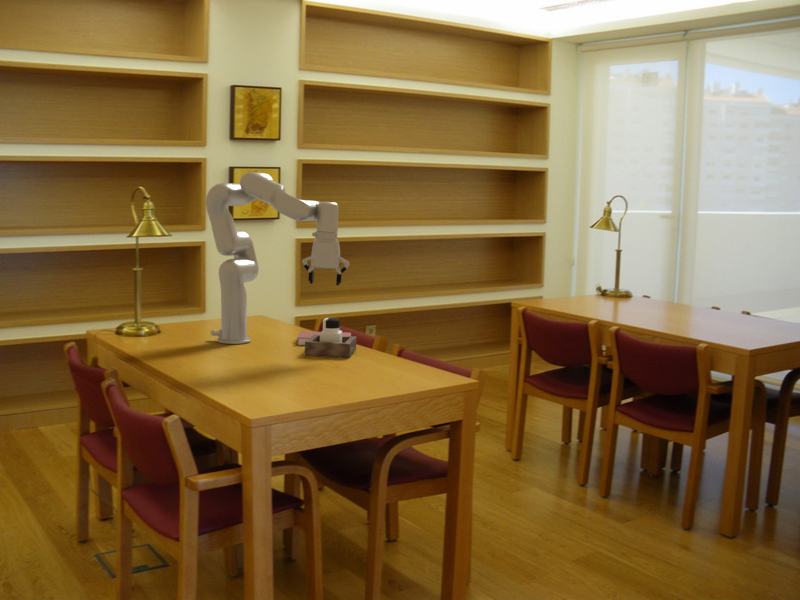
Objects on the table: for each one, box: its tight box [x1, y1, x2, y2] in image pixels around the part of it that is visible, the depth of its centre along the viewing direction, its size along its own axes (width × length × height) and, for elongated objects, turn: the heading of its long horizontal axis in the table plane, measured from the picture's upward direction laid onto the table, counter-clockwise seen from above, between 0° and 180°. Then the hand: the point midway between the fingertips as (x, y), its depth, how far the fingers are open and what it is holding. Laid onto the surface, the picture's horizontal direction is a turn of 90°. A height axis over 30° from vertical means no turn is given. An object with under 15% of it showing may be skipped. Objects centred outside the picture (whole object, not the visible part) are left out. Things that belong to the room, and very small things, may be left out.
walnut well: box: [304, 335, 357, 359], centre depth 302 cm, size 16×16×5 cm
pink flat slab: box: [296, 331, 352, 347], centre depth 322 cm, size 20×14×3 cm
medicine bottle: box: [320, 317, 343, 343], centre depth 301 cm, size 7×7×12 cm
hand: (324, 284), depth 301 cm, fingers open, 9 cm apart
